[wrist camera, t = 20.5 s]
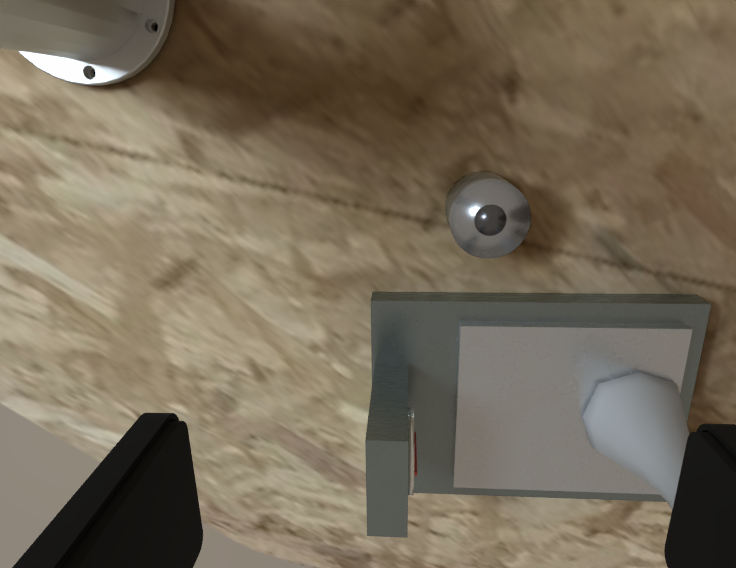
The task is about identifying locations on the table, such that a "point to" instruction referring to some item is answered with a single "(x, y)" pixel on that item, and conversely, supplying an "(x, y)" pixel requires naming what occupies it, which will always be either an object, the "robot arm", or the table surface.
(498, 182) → the silver jar with knob
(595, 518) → the table surface
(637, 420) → the flask
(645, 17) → the table surface
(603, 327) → the scale
